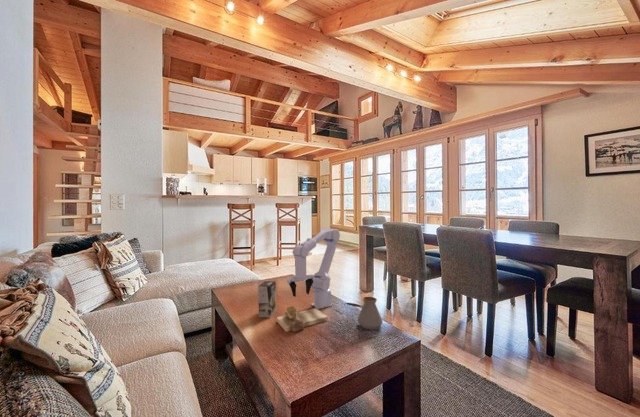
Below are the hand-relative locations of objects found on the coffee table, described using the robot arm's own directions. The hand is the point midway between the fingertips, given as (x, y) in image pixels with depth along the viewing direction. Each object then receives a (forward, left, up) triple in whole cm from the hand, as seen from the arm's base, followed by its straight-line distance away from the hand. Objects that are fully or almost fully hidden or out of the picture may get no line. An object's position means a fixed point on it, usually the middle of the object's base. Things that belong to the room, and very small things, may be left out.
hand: (301, 294), depth 139 cm
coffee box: (+15, -10, -11) cm, 21 cm away
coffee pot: (-17, +29, -11) cm, 35 cm away
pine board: (+3, +7, -10) cm, 13 cm away
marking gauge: (+9, +9, -10) cm, 16 cm away
